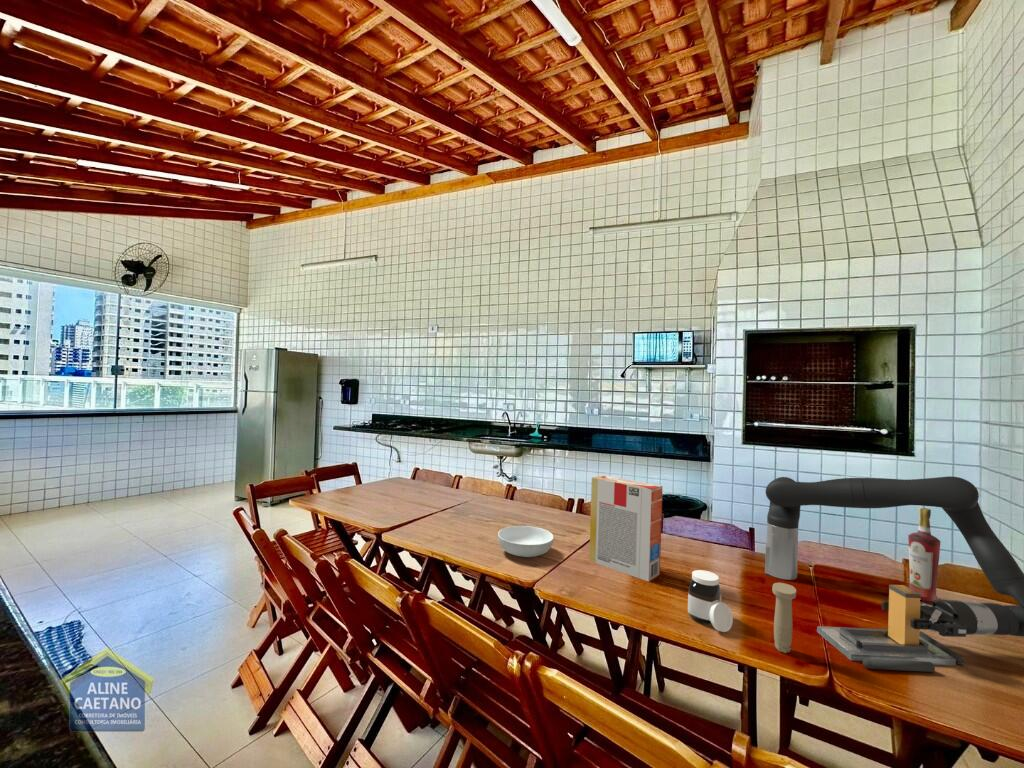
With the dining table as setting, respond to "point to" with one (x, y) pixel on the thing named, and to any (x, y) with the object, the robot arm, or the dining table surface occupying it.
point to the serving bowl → (525, 540)
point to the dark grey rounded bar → (943, 648)
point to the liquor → (924, 558)
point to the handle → (783, 616)
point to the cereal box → (626, 526)
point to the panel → (881, 646)
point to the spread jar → (708, 601)
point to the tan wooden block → (903, 614)
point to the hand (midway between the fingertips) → (896, 614)
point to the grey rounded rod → (899, 665)
